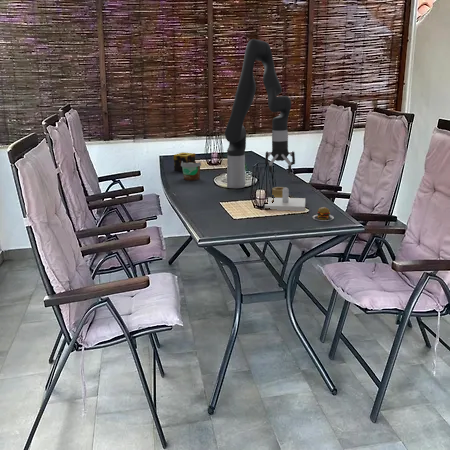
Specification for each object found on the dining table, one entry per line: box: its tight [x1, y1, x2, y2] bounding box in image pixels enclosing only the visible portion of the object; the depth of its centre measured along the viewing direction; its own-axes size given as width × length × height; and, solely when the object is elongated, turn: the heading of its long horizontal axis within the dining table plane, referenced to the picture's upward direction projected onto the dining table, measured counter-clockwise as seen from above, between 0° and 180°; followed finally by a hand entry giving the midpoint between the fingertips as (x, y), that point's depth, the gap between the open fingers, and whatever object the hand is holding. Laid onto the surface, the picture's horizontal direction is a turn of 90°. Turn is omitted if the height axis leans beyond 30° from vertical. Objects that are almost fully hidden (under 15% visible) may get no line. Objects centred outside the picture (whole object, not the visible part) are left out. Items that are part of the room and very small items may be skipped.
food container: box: [181, 161, 202, 182], centre depth 287 cm, size 12×6×10 cm, turn 68°
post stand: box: [264, 186, 306, 212], centre depth 232 cm, size 18×14×9 cm
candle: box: [173, 152, 197, 172], centre depth 313 cm, size 10×10×10 cm
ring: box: [271, 186, 285, 198], centre depth 248 cm, size 6×6×4 cm
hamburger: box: [312, 206, 335, 222], centre depth 214 cm, size 12×12×6 cm
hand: (280, 172), depth 245 cm, fingers open, 8 cm apart
